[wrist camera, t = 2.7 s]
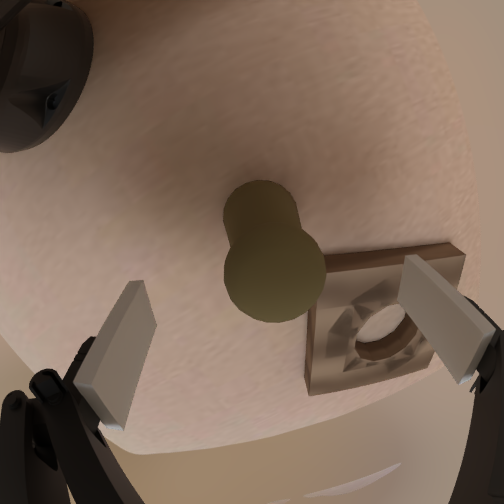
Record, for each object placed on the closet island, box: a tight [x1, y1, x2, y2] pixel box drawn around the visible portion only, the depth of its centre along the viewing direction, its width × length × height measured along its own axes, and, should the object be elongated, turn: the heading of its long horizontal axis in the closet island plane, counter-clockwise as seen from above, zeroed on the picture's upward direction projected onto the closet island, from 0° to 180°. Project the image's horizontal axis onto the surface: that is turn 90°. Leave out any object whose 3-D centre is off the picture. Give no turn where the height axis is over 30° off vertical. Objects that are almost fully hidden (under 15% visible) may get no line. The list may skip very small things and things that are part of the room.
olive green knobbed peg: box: [223, 180, 326, 323], centre depth 18 cm, size 6×6×11 cm
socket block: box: [304, 243, 466, 396], centre depth 27 cm, size 16×16×3 cm
